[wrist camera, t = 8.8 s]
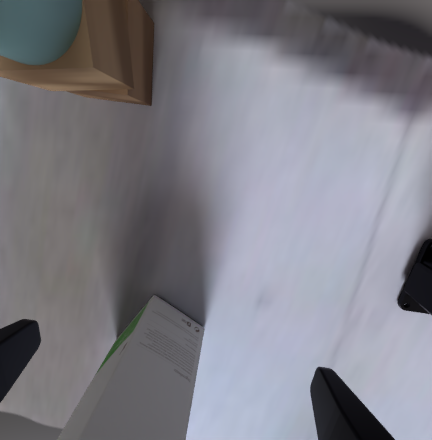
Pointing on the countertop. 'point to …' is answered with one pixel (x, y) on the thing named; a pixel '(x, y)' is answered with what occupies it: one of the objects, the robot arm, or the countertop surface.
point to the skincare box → (143, 381)
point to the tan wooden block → (85, 54)
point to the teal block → (38, 29)
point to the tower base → (134, 60)
